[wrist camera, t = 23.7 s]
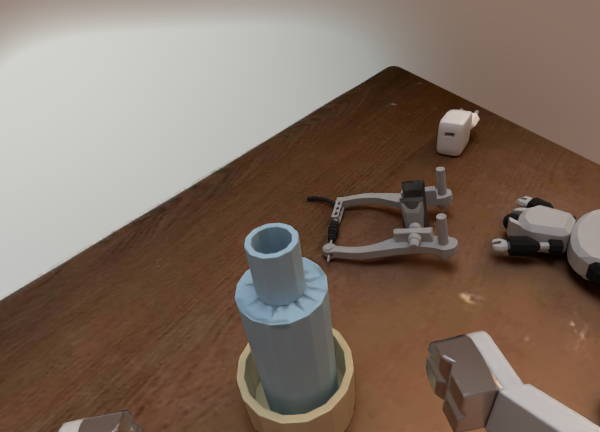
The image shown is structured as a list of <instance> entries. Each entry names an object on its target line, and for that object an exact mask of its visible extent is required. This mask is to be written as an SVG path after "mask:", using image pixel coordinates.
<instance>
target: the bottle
mask: <svg viewBox="0 0 600 432" xmlns="http://www.w3.org/2000/svg"><path fill="white" fill-rule="evenodd" d="M244 249H245V252H246V256H247V260H248V264H249V268H250V269H249V270H248V271H246V272H245V273H244V275H243V276H242V278H241V279H240V281H239V282H238V284H237V287H236V293H235V301H236V304H237V307H238V310H239V314H240V317H241V320H242V323H243V326H244V329H245V333H246V336H247V339H248V342H249V345H250V348H251V352H252V355H253V358H254V361H255V364H256V367H257V371H258V374H259V377H260V380H261V383H262V386H263V390H264V393H265V396H266V399H267V402H268V405H269V408H270V410H271V411H273V412H276V413H278V414H281V415H295V414H306V413H308V412H310V411H312V410H314V409H316V408H318V407H321V406H323V405H325V404H326V403H327V402H328V401H329V400H330V398H331V397H332V396H333V395H334V394H335V393H336V392H337V391H338V390H339V389H338V379H337V370H336V360H335V351H334V342H333V332H332V323H331V313H330V304H329V295H328V285H327V277H326V275H325V273H324V272H323V271H322V269H321V268H320V266H319V265H317V264H316V263H314V262H312V261H310V260H309V259H307V258H303V257H302V255H301V248H300V241H299V235H298V232H297V231H296V230H295V229H294V228H293V227H292V226H290V225H286V224H282V223H272V224H265V225H263V226H260V227H258V228H256V229H254V230H253V231H252V232H251V233H250V234H249V235H248V236H247V237H246V238H245V244H244Z"/></svg>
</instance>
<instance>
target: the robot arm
mask: <svg viewBox="0 0 600 432" xmlns="http://www.w3.org/2000/svg"><path fill="white" fill-rule="evenodd" d="M428 351H429V353H430V355H431V356H430V357H429V358H428V359H427V362H426V370H427V375H428V379H429V382H430V384H431V387H432V389H433V391H434V393H435V394H436V395H437V396H439V397H440V398H442V399H443V400H444V403H443V409H442V410H443V412H444V414H445V416H446V418H447V420H448V422H449V424H450V426H451V428H452V430H453V432H466V431H470V430H475V429H480V428H485V427H486V428H485V430H487V431H488V432H600V427H599V426H598V425H596V424H594V423H593V422H591V421H589V420H588V419H586V418H585V417H583V416H581V415H580V414H578V413H576V412H575V411H573V410H571V409H570V408H568V407H567V406H565V405H563V404H562V403H560V402H558V401H557V400H555V399H554V398H552V397H550V396H549V395H547V394H545V393H544V392H542V391H541V390H539V389H537V388H536V387H534V386H532V385H531V384H525V385H524V384H523V382H522V381H521V380H520V378H519V377H518V375H517V374H516V373H515V371H514V370H513V368H512V367H511V365H510V364H509V363H508V361H507V360H506V358H505V357H504V356H503V354H502V353H501V351H500V350H499V348H498V347H497V346H496V344H495V343H494V341H493V340H492V338H491V337H490V336H489V334H488V333H486V332H485V331H478V332H473V333H469V334H463V335H459V336H455V337H451V338H447V339H442V340H438V341H434V342H431V343H430V344H429V348H428ZM131 421H132V415H131V413H130V412H129V411H128V410H122V411H118V412H113V413H109V414H104V415H100V416H95V417H91V418H84V419H80V420H75V421H71V422H67V423H64V424H63V425H62V427H61V428H60V430H59V431H58V432H142V429H141V427H140V426H139V424H136V423H133V422H131Z"/></svg>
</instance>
